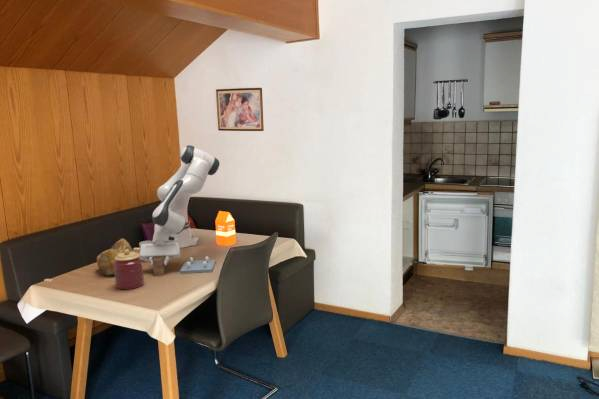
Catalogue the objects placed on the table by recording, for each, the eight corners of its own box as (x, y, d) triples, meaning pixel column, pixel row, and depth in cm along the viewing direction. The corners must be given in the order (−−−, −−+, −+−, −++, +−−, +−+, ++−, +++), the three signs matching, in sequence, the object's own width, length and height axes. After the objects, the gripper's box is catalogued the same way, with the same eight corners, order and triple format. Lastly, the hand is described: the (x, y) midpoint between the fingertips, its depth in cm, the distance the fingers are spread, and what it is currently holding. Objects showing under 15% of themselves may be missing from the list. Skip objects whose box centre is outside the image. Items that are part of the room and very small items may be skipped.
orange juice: (225, 241, 314) (223, 209, 310) (236, 243, 309) (234, 211, 305) (216, 244, 307) (214, 212, 304) (227, 246, 302) (225, 213, 299)
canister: (144, 287, 237) (140, 251, 234) (114, 291, 234) (110, 254, 231) (144, 279, 250) (140, 244, 246) (116, 282, 246) (112, 247, 243)
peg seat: (185, 263, 271) (185, 255, 270) (215, 262, 272) (215, 254, 271) (180, 273, 255) (179, 265, 255) (212, 272, 256) (211, 263, 255)
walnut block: (156, 272, 258) (154, 257, 257) (165, 272, 258) (163, 257, 257) (154, 275, 254) (152, 260, 252) (163, 275, 254) (161, 260, 253)
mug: (137, 260, 281) (136, 243, 279) (157, 255, 290) (156, 238, 288) (145, 263, 275) (144, 245, 273) (165, 257, 284) (164, 240, 282)
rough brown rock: (110, 264, 279) (105, 238, 276) (138, 262, 276) (133, 235, 273) (87, 280, 256) (81, 251, 253) (117, 277, 253) (111, 249, 250)
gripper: (139, 239, 260) (136, 263, 252) (179, 237, 261) (177, 261, 253) (142, 245, 265) (139, 269, 257) (182, 243, 266) (180, 267, 258)
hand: (158, 265), depth 255 cm, fingers closed on walnut block, 4 cm apart
